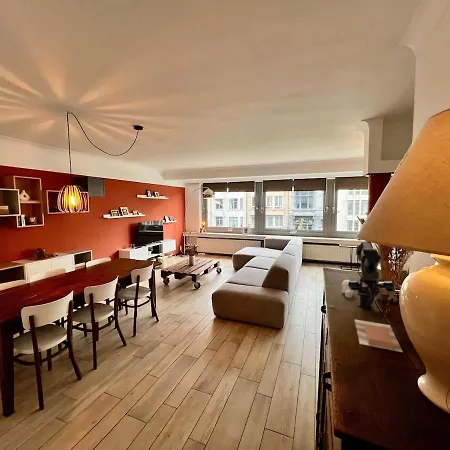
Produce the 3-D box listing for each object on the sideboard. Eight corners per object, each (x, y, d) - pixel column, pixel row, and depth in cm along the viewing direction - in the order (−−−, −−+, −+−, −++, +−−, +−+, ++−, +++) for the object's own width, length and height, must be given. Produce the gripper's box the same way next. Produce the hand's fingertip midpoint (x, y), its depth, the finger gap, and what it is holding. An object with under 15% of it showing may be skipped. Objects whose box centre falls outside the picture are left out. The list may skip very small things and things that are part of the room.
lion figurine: (369, 298, 145) (370, 283, 144) (368, 295, 150) (369, 281, 149) (399, 303, 139) (401, 287, 138) (398, 299, 144) (399, 284, 143)
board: (354, 321, 117) (354, 319, 117) (389, 327, 111) (389, 325, 111) (359, 346, 96) (359, 343, 96) (402, 354, 91) (403, 352, 91)
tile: (364, 324, 106) (368, 338, 95) (386, 328, 103) (393, 343, 92) (364, 330, 107) (368, 344, 96) (386, 334, 104) (392, 349, 93)
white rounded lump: (352, 279, 153) (355, 287, 142) (351, 292, 154) (355, 301, 143) (341, 278, 155) (343, 286, 144) (340, 291, 157) (342, 299, 145)
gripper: (345, 265, 123) (345, 296, 115) (390, 264, 111) (393, 299, 104) (351, 274, 130) (351, 304, 122) (394, 274, 118) (397, 307, 111)
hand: (371, 303), depth 114 cm, fingers closed
